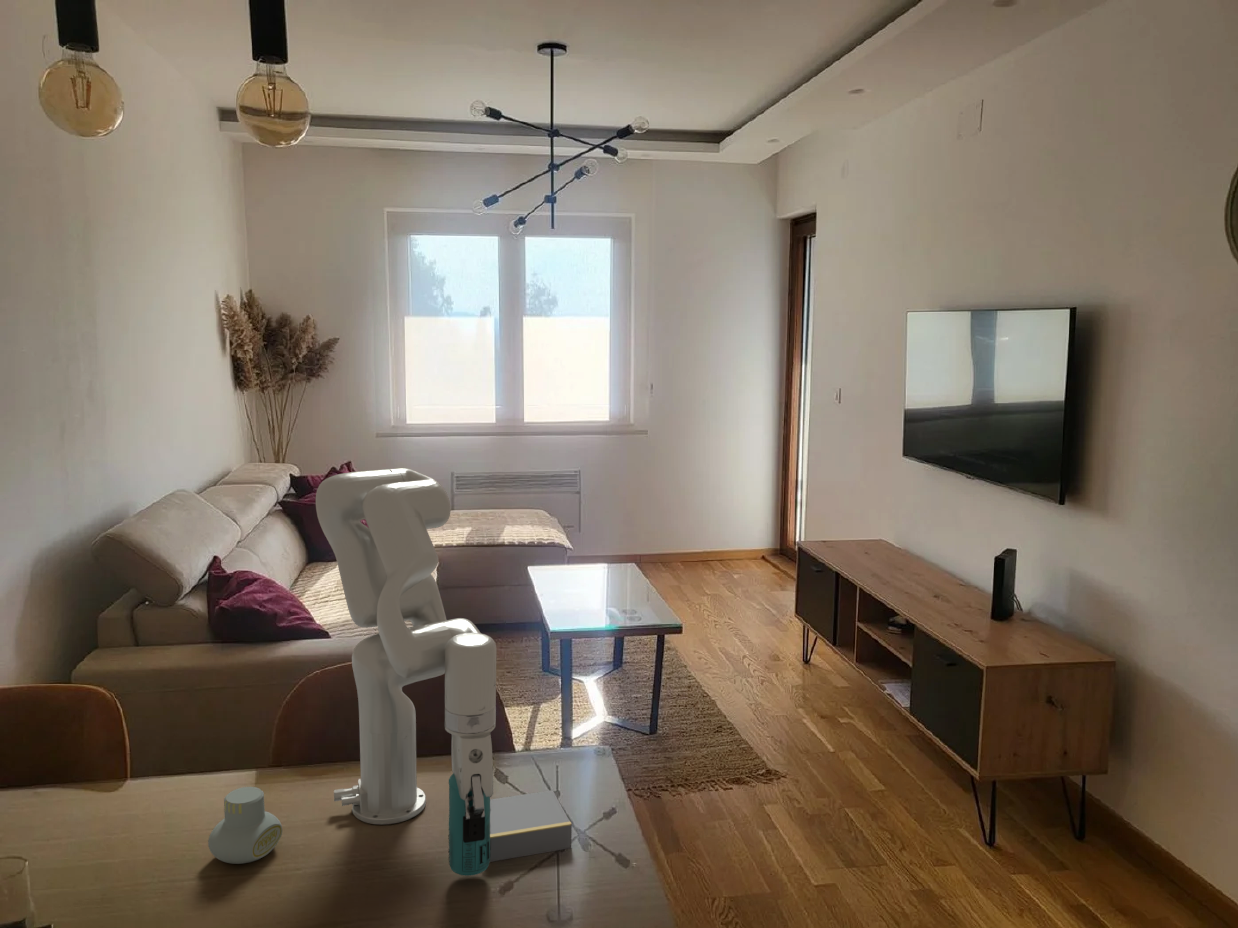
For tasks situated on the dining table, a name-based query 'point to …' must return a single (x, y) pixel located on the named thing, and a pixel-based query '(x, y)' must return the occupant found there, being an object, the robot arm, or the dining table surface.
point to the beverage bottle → (461, 854)
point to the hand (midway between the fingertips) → (469, 826)
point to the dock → (528, 825)
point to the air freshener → (244, 828)
